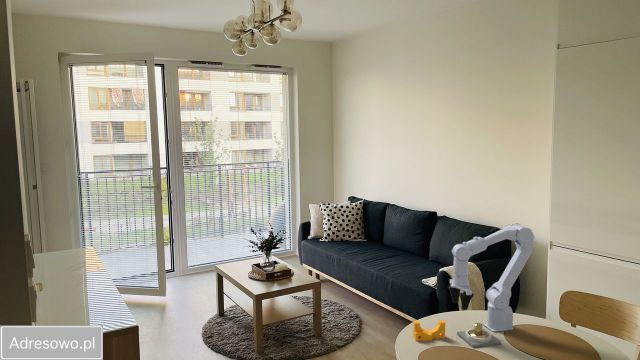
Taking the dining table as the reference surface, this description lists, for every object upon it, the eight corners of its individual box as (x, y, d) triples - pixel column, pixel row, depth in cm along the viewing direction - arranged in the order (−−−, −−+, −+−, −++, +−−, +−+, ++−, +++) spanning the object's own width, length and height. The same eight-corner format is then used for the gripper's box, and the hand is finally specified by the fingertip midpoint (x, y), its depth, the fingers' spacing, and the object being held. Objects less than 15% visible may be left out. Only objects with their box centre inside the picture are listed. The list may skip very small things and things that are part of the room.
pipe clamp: (415, 341, 184) (415, 325, 183) (413, 336, 188) (413, 320, 188) (446, 340, 184) (446, 324, 184) (443, 335, 189) (443, 320, 188)
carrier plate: (483, 331, 192) (483, 326, 192) (501, 344, 180) (501, 338, 180) (456, 334, 189) (456, 329, 189) (472, 347, 178) (472, 342, 177)
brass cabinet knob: (481, 332, 188) (481, 320, 187) (489, 339, 182) (489, 327, 181) (467, 334, 187) (467, 321, 186) (474, 340, 181) (474, 328, 181)
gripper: (443, 269, 199) (442, 300, 200) (460, 280, 185) (459, 313, 186) (458, 268, 200) (458, 299, 202) (476, 278, 186) (476, 312, 188)
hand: (460, 306), depth 194 cm, fingers open, 7 cm apart
